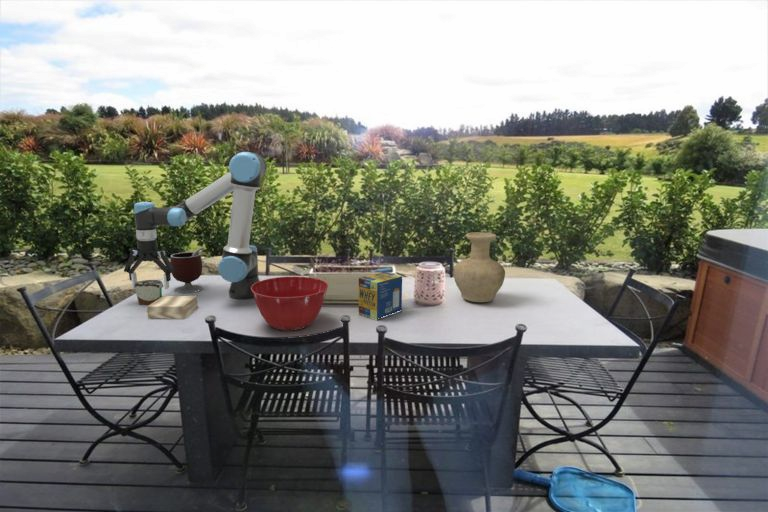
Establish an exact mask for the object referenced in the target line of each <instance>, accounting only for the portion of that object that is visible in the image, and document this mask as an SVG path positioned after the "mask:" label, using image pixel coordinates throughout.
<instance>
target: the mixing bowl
mask: <svg viewBox="0 0 768 512" xmlns="http://www.w3.org/2000/svg"><path fill="white" fill-rule="evenodd" d="M328 288H329V283H327V281H325V280H323V279H319V278H315V277H311V276H294V275H293V276H279V277H272V278H265V279H263V280H260V281H259V282H257V283H255V284H253V285H252V286H251V291H252V292H253V296H254V298H253V299H254V301H255V304H256V306H257V309H258V310H259V313H260V314H261V316H262V318H263V319H264V321H265V323H267V324H268V325H269V326H271V327H273V328H274V329H276V330H279V329H281V330H280V331H286V330H290V331H296V330H295V329H299V330H301V329H300V328H302V329H304V328H303V327H305V328H306V326H307V327H308V326H309V325H311V324H312V323H313V322H314V321H315V320H316V319H317V317H318V315H319V313H320V311H321V309H322V306H323V305H324V301H325V298H326V294H327V290H328Z"/></svg>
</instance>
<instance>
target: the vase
mask: <svg viewBox="0 0 768 512" xmlns="http://www.w3.org/2000/svg"><path fill="white" fill-rule="evenodd" d="M465 238H466V239H467V240H469V241H470V243H471V247H470V254H469V255H470V256H469V257H468V258H464V259H462V260H461V261H459V262H457V263H456V264H455V266H454V268H453V279H454V282H455V285H456V286H457V289H458V291H460V295H461V298H462V299H464V300H466V301H469V302H473V303H487V302H491V301H494V300H495V298H496V295H497V293H498V292H499V290H501V289H502V286H503V285H504V281H505V277H506V270H505V268H504V266H503V265H502V264H501V263H499V262H498V261H496V260H495V259H492V258H491V257H490V245H491V242H492V241H495V239H497V234H494V233H490V232H481V231H479V232H477V231H476V232H474V231H473V232H467V233H466V234H465Z"/></svg>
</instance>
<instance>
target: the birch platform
mask: <svg viewBox="0 0 768 512" xmlns="http://www.w3.org/2000/svg"><path fill="white" fill-rule="evenodd" d="M198 308H199V302H198V296H197V295H162V297H161V298H159V299H158V300H156V301H155V302H153V303H152V304H150V305H149V306H146V310H147V311H146V312H147V318H172V319H173V320H177V319H180V320H182V319H183V320H184V319H186V318H187V317H188V316H190V315H191V314H193V312H194V311H195V310H196V309H198ZM172 319H171V320H172Z"/></svg>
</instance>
